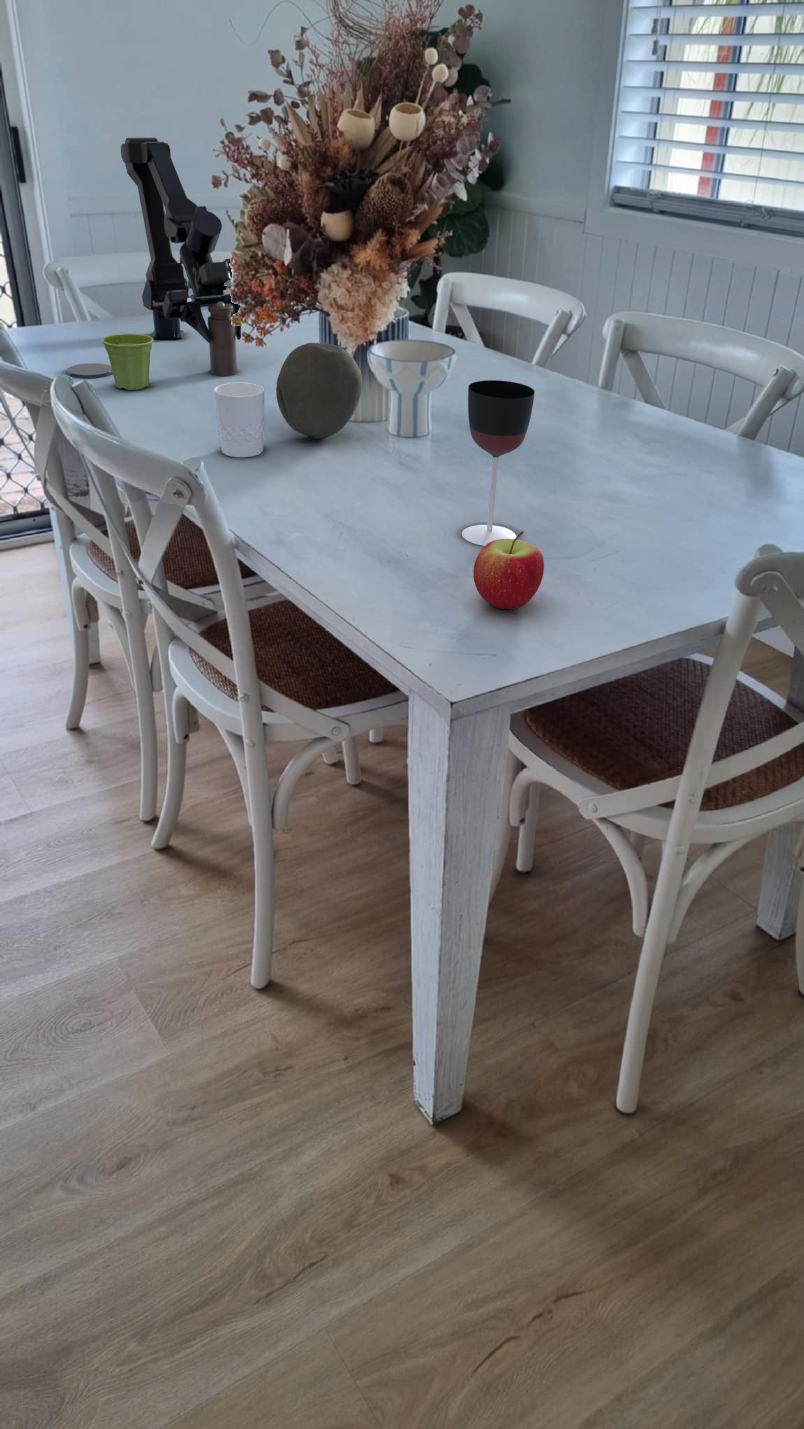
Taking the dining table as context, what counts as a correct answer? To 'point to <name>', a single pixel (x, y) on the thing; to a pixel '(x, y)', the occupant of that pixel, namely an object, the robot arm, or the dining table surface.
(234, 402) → the white cup
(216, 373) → the pepper mill
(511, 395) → the wineglass
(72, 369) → the coaster
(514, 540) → the apple
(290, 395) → the smooth river stone
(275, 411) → the dining table surface
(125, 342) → the plant pot
